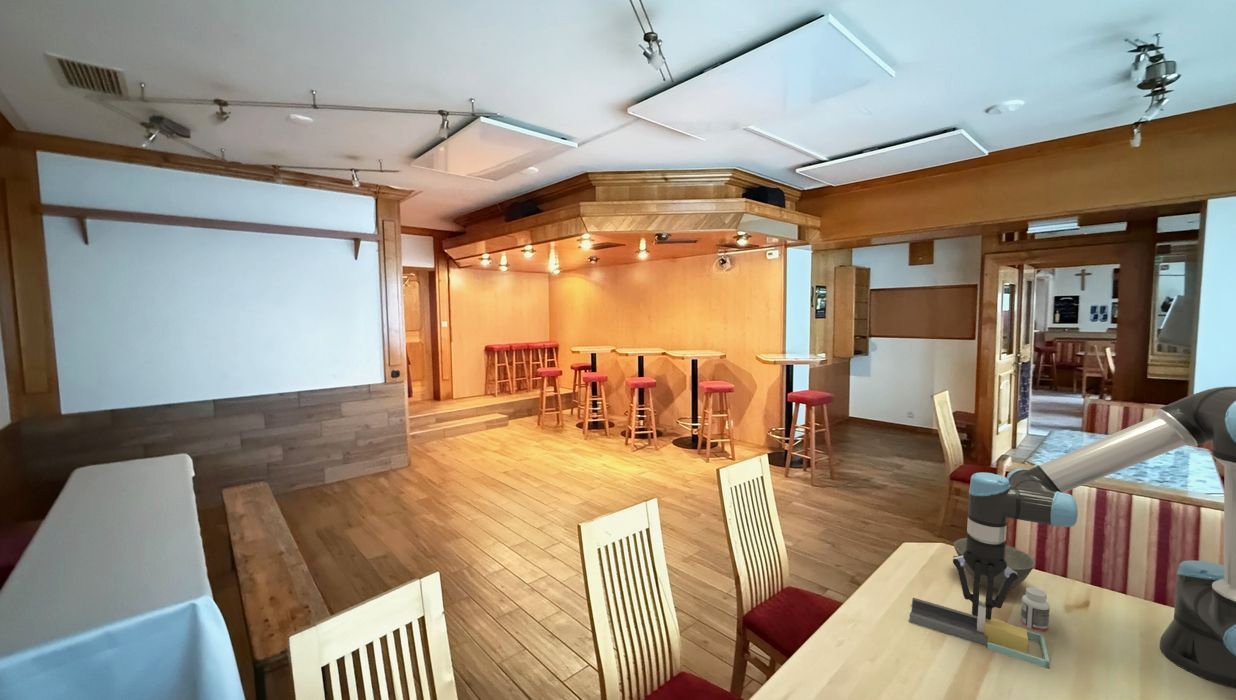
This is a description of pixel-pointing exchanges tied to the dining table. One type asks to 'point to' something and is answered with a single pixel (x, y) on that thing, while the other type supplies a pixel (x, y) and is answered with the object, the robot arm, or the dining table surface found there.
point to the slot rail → (946, 621)
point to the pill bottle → (1035, 609)
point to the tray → (1024, 656)
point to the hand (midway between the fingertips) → (980, 628)
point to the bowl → (1013, 559)
